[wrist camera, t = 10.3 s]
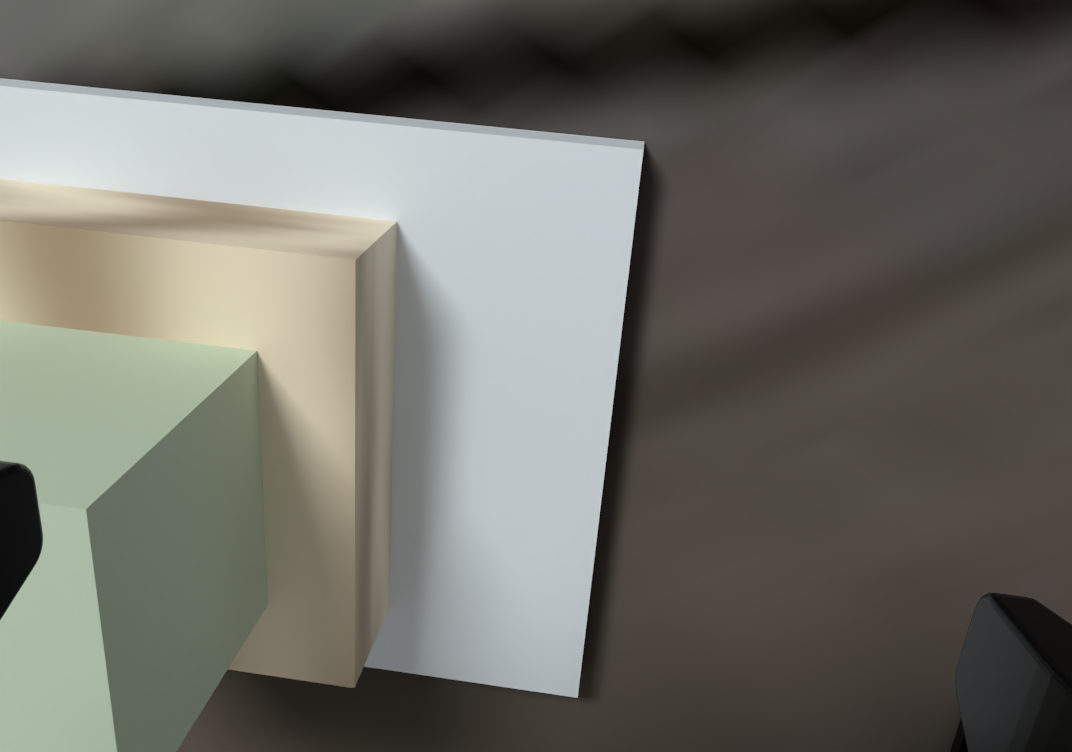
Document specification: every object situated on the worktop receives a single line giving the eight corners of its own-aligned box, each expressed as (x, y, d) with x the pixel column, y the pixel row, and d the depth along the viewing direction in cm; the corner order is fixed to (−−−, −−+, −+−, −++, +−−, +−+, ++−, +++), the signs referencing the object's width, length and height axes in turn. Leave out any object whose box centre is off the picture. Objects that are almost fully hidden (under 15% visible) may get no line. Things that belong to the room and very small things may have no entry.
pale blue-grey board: (644, 141, 20) (643, 149, 19) (580, 672, 26) (577, 697, 25) (-238, 54, 22) (-278, 58, 21) (-119, 571, 27) (-146, 591, 26)
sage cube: (256, 350, 19) (86, 508, 13) (267, 604, 21) (127, 830, 15) (-34, 316, 19) (-318, 454, 14) (8, 568, 21) (-218, 773, 16)
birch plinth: (397, 221, 20) (355, 260, 18) (389, 607, 24) (354, 688, 22) (-46, 173, 21) (-152, 203, 18) (16, 554, 25) (-63, 626, 22)
